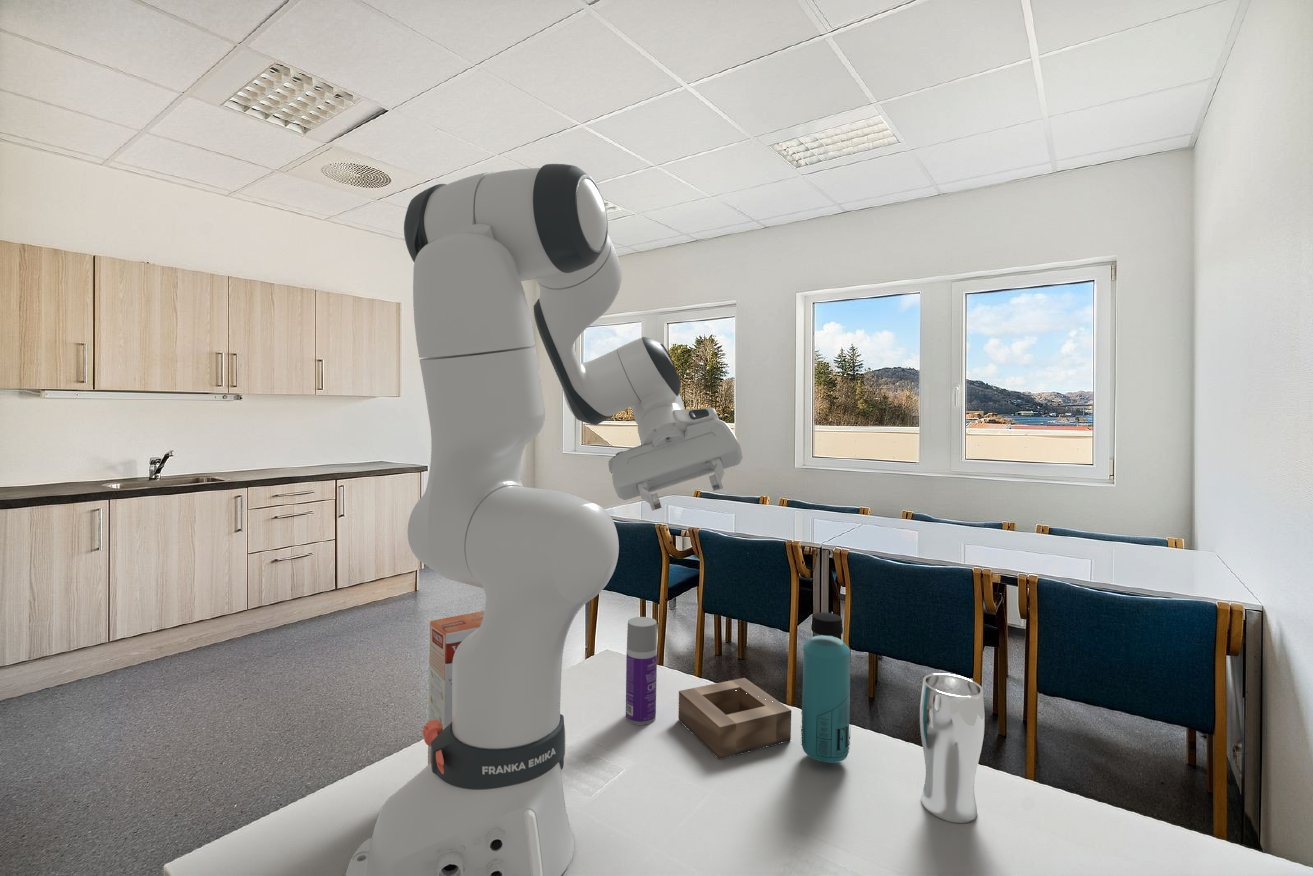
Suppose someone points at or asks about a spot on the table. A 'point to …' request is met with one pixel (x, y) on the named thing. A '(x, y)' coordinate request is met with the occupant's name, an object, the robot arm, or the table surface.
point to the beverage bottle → (826, 691)
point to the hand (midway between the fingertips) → (686, 497)
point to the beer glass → (951, 744)
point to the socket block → (734, 717)
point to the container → (641, 670)
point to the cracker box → (446, 662)
